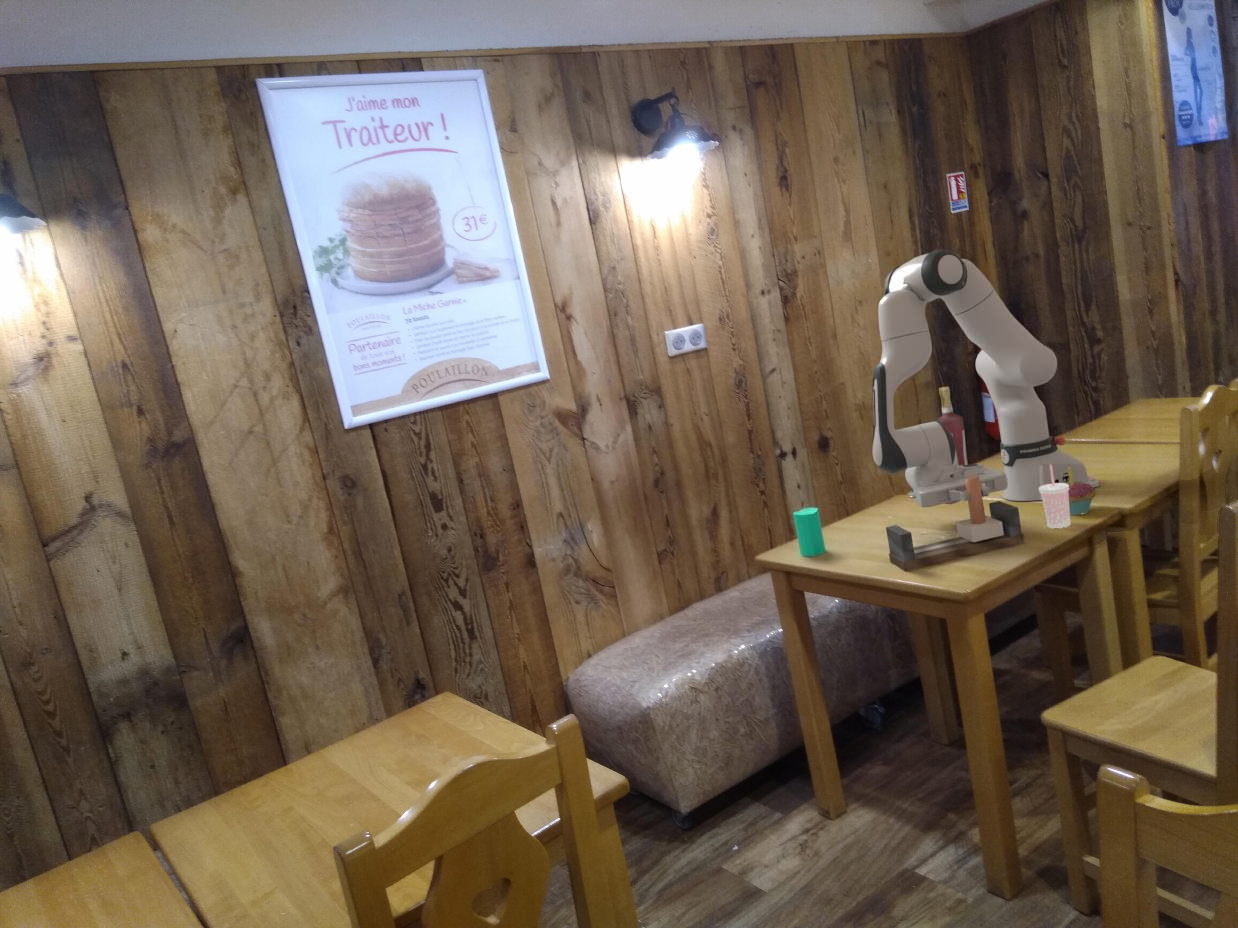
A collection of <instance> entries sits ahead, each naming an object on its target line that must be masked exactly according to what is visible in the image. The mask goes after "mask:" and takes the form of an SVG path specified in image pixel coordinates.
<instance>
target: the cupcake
mask: <svg viewBox="0 0 1238 928" xmlns="http://www.w3.org/2000/svg"><path fill="white" fill-rule="evenodd" d="M1068 471H1069V477H1070V482H1069V483H1066V484H1068V485H1069V490H1068V494H1069V510H1070V514H1081V513H1086V512H1088V511H1089V512H1090V510H1091V509H1090V508H1091V504H1092V501H1093V499H1094V498H1095V496H1096V492H1095V491H1096V490H1095V487H1094V488H1093V487H1092V486H1091V485H1089V484H1086V483H1083V482H1073V475H1072V469H1071V467H1070V464H1069V467H1068ZM1089 512H1088V513H1089ZM1086 514H1087V513H1086Z"/></svg>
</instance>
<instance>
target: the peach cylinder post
mask: <svg viewBox="0 0 1238 928" xmlns="http://www.w3.org/2000/svg"><path fill="white" fill-rule="evenodd" d="M965 485H966V491H967V492H969V497H970V500H967V504H968V511H969V519H964V520H961V521H960V520H959V521H957V522H955V525H956V530H957V531H956V532H957V533H956V534H957V537H963V538H965V539H967V540H969V541H971V542H977V541H981V540H985V539H989V538H994V537H998V536H1002V535H1004V533H1003V526H1002V522H1001V521H999V520H996V519H994V518H991V516H989V515H986V514H985V513H986V512H985V508H984V507H985V506H984V500H983V497H982V492H981V486H980V479H979V476H971V477H966V478H965Z"/></svg>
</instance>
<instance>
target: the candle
mask: <svg viewBox="0 0 1238 928" xmlns="http://www.w3.org/2000/svg"><path fill="white" fill-rule="evenodd" d="M803 506H804V508H803V509H801V510H799V511H794V512H793V520H794V524H795V531H796V536H797V541H798V547H799V552H800V556H802V557H816V556H820V555H822V554H824V553H825V552H826V546H825V540H824V535H823V534H824V533H823V530H822V528H823V527H822V524H821V523H822V522H821V518H820V513H819V508H818V507H806V505H805V504H804V505H803Z"/></svg>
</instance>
